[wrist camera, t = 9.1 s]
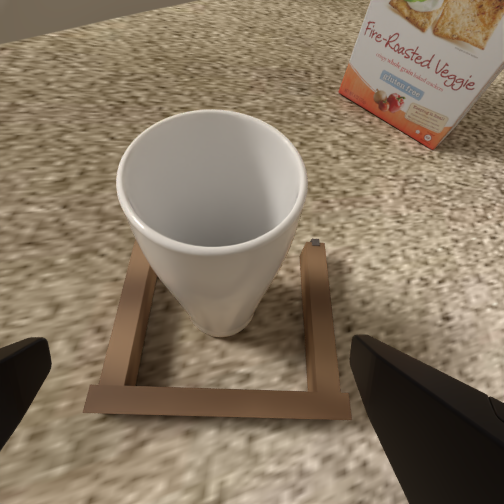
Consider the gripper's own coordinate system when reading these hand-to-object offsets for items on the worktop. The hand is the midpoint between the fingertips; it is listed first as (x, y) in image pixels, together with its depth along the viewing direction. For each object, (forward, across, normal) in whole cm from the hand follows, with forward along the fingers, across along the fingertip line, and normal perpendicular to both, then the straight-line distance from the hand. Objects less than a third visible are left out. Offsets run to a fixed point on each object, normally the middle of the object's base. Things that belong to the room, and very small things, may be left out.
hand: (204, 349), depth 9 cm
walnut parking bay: (+13, 0, +6) cm, 14 cm away
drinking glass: (+14, 0, +5) cm, 15 cm away
